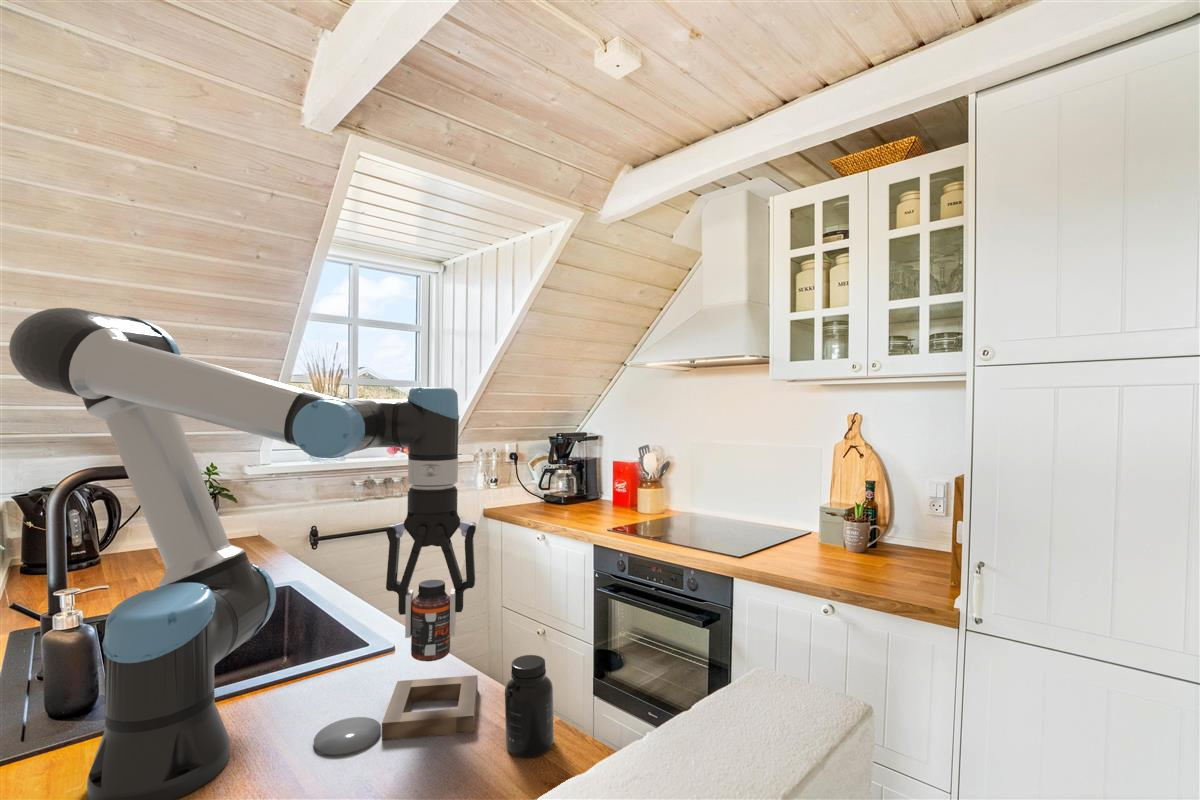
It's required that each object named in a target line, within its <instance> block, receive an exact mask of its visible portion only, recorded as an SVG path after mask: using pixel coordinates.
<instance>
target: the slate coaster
mask: <svg viewBox="0 0 1200 800" xmlns="http://www.w3.org/2000/svg"><path fill="white" fill-rule="evenodd" d="M381 735H382V724H381V723H380V722H379V721H378V720H377V719H375V718H371V717H366V716H355V717H354V716H353V717H348V718H344V719H339V720H336V721H333V722H331V723H330V724H327V725H326V726H324V727H323V728H322V729H320V730H319V731H318V732H317V733H316V735H315V736H314V739H313V747H314V750H315V751H316V752H317V753H319V754H321V755H324V756H328V757H342V756H343V757H344V756H348V755H353V754H355V753H358V752H361V751H363V750H365V749H367V748H369V747H371V746H372V745H373V744H376V742H377V741H378V739H379V738H380V737H381Z"/></svg>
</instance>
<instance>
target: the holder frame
mask: <svg viewBox="0 0 1200 800" xmlns="http://www.w3.org/2000/svg"><path fill="white" fill-rule="evenodd" d="M478 676H479V675H476V674H475V675H464V676H462V675H460V676H446V677H433V678H419V679H407V680H406V679H405V680H397V682H396V684H395V686H394V690H393V691H392V695H391V697H390V700H389V702H388V706H387V708H386V712H385V713H384V716H383V719H382V721H381V741H388V740H389V739H390V740H402V738H404V739H413V737H414V738H424V737H425V738H426V737H427V738H428V737H436V736H445V735H446V736H447V735H461V734H471V733H475V732H474V731H475V721H476V712H477V711H476V709H477V701H478V686H479V685H478V684H479V683H478ZM457 699H458V702H457V704H458V705H457V707H456V708H446V709H445V708H444V709H435V710H433V709H432V710H430V709H429V710H421V711H419V710H417V711H409V710H410V707H411V704H412V703H420V702H431V701H432V702H434V701H444V700H445V701H446V700H457Z"/></svg>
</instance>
